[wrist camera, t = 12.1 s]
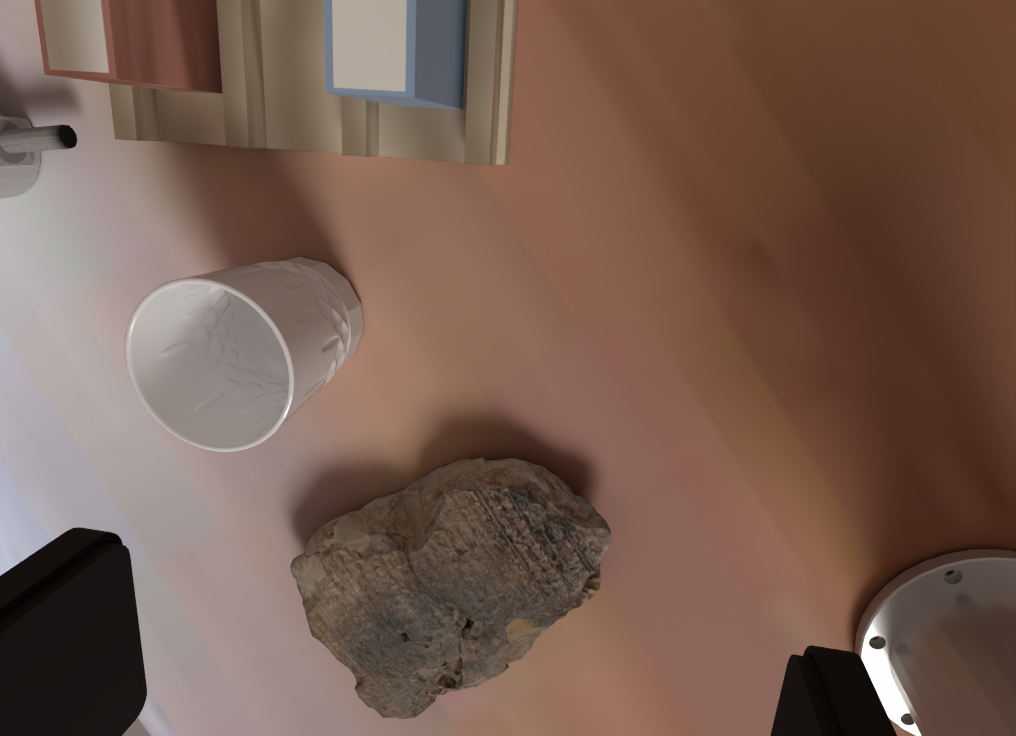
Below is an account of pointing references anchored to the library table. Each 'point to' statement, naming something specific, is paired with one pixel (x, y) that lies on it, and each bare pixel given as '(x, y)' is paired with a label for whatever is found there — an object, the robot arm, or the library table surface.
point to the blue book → (396, 51)
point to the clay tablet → (449, 578)
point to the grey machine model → (27, 151)
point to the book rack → (270, 78)
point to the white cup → (240, 348)
